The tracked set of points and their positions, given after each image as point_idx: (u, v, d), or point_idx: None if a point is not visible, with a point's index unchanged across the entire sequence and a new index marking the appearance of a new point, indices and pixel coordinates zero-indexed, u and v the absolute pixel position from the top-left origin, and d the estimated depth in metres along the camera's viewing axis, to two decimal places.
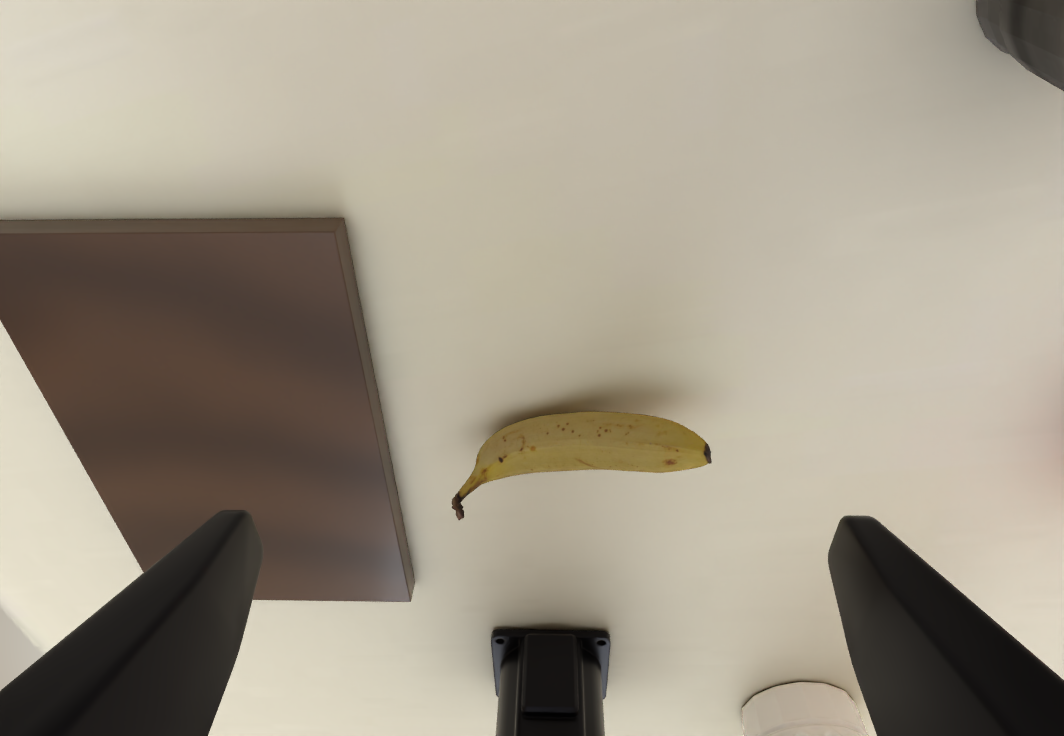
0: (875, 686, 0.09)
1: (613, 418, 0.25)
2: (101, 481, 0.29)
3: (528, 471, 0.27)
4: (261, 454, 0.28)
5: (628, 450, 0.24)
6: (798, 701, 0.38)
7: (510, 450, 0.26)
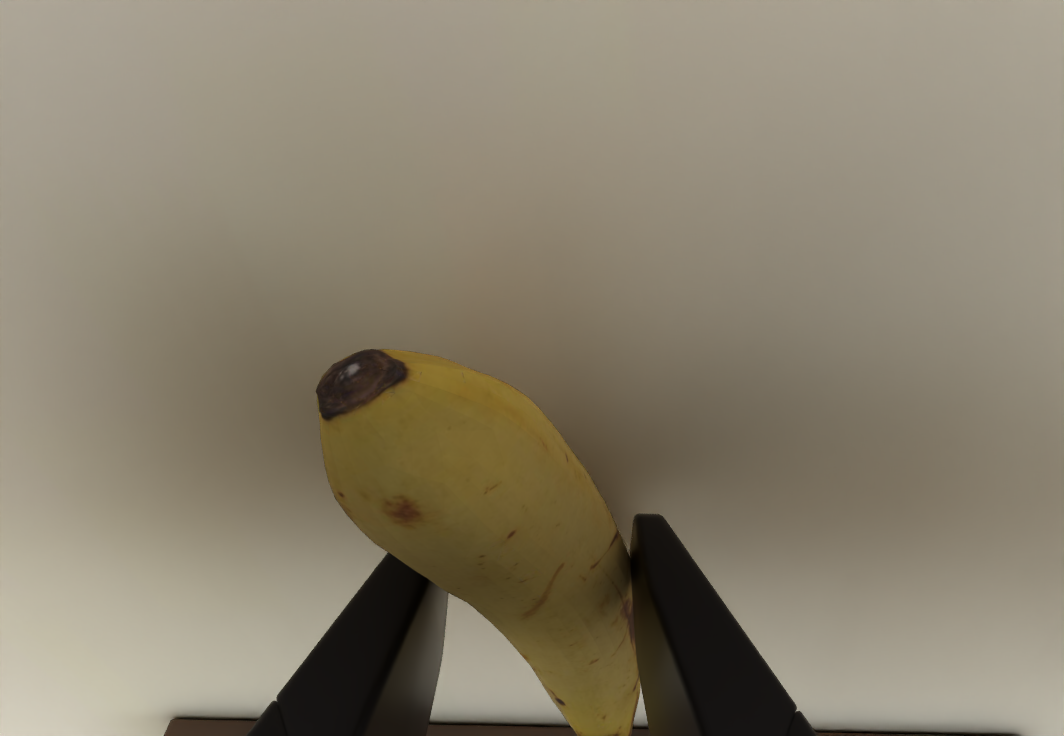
0: (645, 682, 0.09)
1: None
2: None
3: (600, 664, 0.10)
4: None
5: (418, 569, 0.07)
6: None
7: (539, 677, 0.11)
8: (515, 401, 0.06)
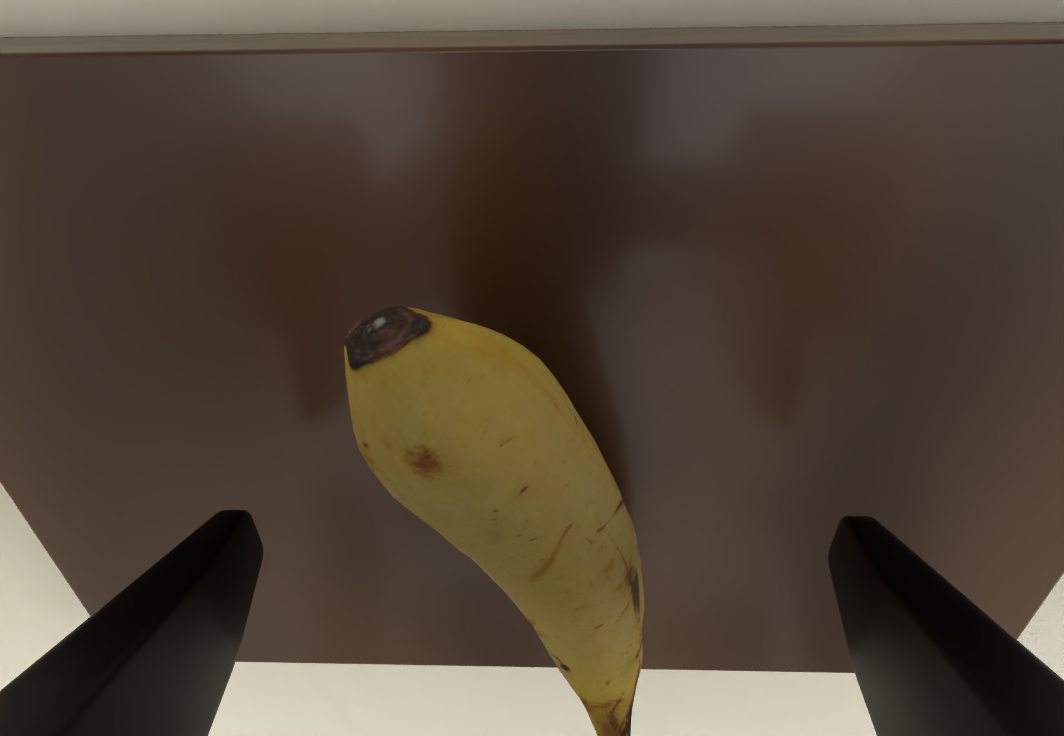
0: (875, 686, 0.09)
1: None
2: None
3: (605, 629, 0.11)
4: None
5: (434, 524, 0.08)
6: None
7: (544, 644, 0.11)
8: (529, 360, 0.07)
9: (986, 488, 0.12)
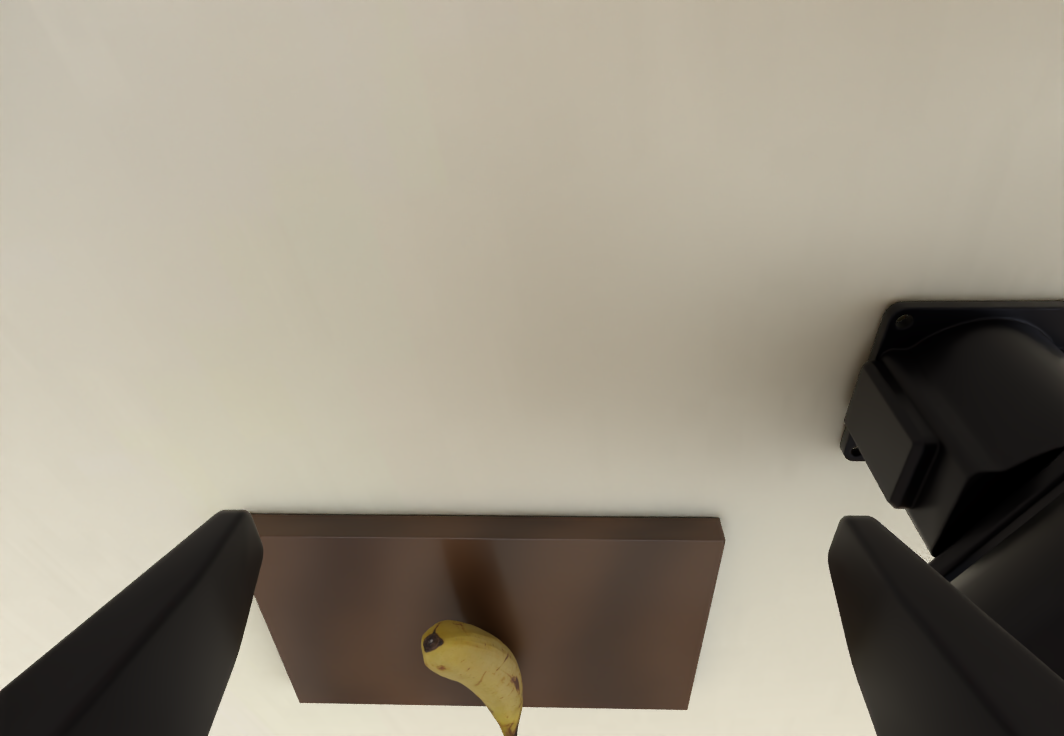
0: (875, 686, 0.09)
1: None
2: None
3: (504, 698, 0.30)
4: (480, 613, 0.29)
5: (443, 676, 0.27)
6: None
7: (484, 702, 0.30)
8: (468, 639, 0.26)
9: (651, 643, 0.30)
